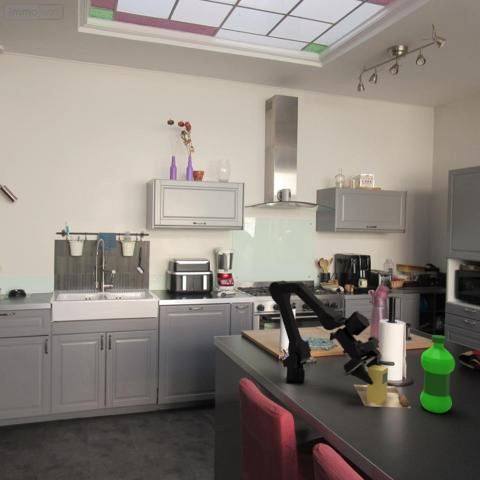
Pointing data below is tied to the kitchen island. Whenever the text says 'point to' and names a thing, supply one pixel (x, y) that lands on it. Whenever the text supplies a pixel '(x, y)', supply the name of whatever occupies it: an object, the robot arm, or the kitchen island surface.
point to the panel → (391, 402)
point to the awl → (403, 400)
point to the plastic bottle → (437, 376)
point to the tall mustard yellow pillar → (377, 384)
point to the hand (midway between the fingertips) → (378, 380)
